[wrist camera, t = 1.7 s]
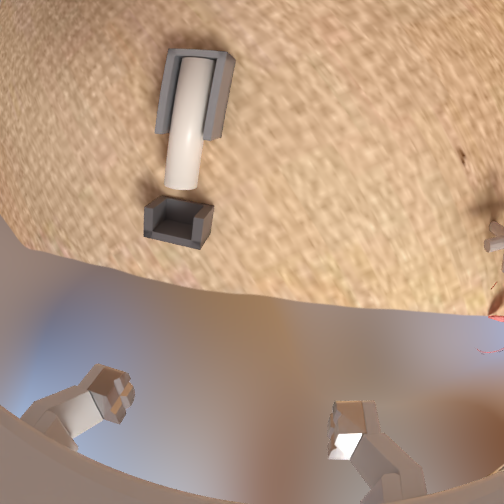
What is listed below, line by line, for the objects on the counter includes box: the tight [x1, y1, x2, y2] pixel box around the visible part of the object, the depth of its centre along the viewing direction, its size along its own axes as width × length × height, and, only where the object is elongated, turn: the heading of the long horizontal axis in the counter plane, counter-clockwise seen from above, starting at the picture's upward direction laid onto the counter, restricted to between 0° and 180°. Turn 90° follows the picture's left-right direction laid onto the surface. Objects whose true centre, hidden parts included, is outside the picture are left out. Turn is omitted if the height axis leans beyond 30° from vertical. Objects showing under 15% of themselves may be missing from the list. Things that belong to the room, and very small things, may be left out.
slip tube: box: [164, 57, 217, 190], centre depth 30 cm, size 15×4×4 cm, turn 169°
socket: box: [144, 196, 214, 250], centre depth 37 cm, size 4×8×5 cm, turn 79°
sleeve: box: [155, 49, 236, 141], centre depth 29 cm, size 10×7×5 cm, turn 169°
